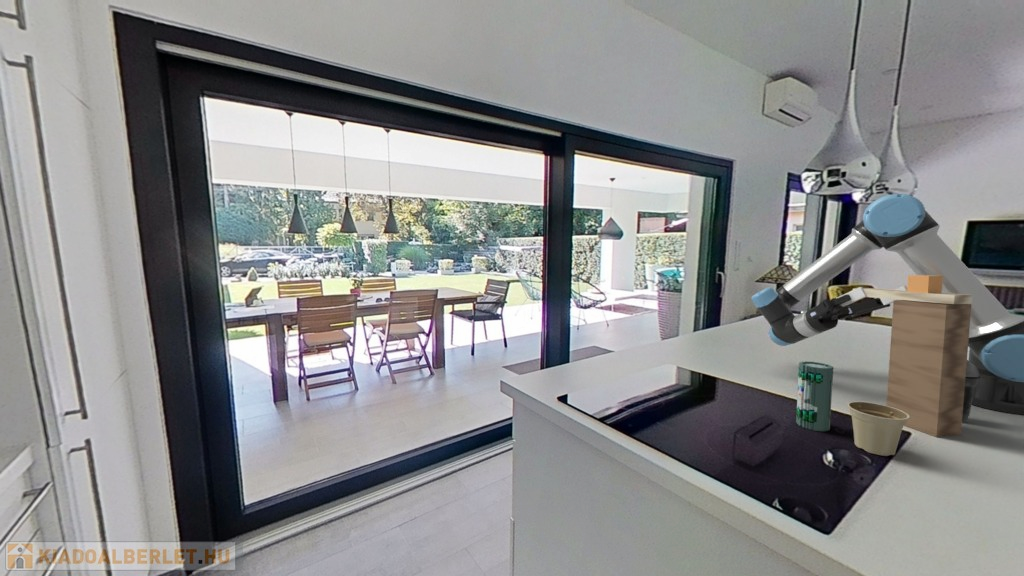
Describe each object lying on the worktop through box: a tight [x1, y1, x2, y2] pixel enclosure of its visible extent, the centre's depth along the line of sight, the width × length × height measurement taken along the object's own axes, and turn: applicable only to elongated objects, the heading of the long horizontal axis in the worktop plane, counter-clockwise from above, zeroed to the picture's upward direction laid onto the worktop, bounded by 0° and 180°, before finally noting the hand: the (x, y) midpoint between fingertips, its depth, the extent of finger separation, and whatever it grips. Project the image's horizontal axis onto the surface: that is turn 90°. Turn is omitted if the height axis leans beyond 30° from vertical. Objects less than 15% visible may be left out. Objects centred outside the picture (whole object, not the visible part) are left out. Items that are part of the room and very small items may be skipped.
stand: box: [885, 300, 972, 438], centre depth 89 cm, size 7×10×30 cm
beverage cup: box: [962, 359, 980, 424], centre depth 93 cm, size 7×7×20 cm
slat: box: [852, 287, 972, 304], centre depth 93 cm, size 5×21×2 cm, turn 9°
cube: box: [906, 274, 943, 293], centre depth 89 cm, size 4×4×4 cm
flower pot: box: [847, 400, 910, 457], centre depth 79 cm, size 9×9×9 cm
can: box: [795, 360, 834, 432], centre depth 90 cm, size 6×6×15 cm
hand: (886, 290), depth 97 cm, fingers open, 13 cm apart
